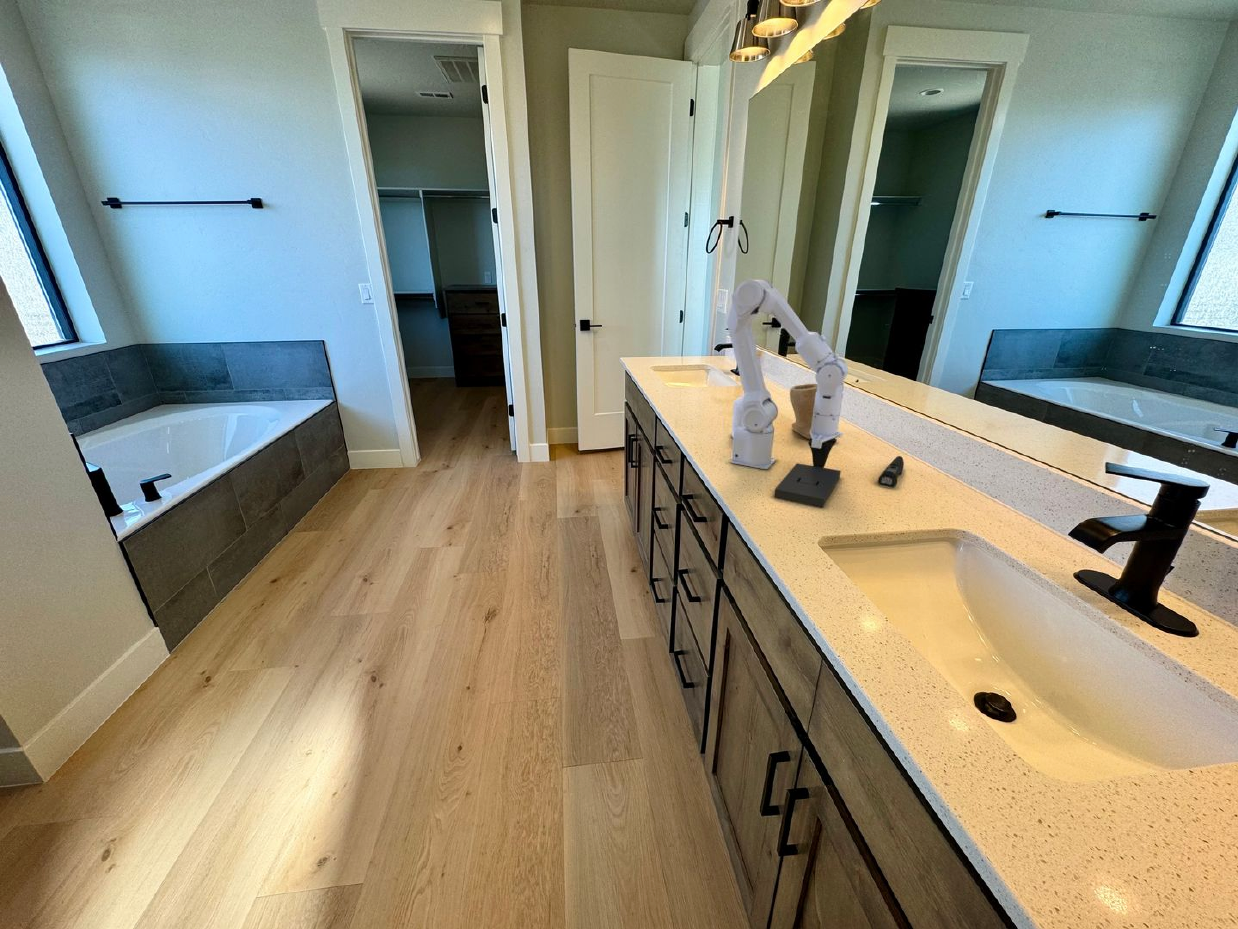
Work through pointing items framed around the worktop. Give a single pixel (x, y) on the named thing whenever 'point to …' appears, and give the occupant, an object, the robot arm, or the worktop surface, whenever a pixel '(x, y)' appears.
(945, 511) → the worktop surface
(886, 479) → the electric trimmer
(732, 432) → the soap bottle
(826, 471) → the pad
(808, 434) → the brown boot
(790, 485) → the notch pad
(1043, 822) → the worktop surface
